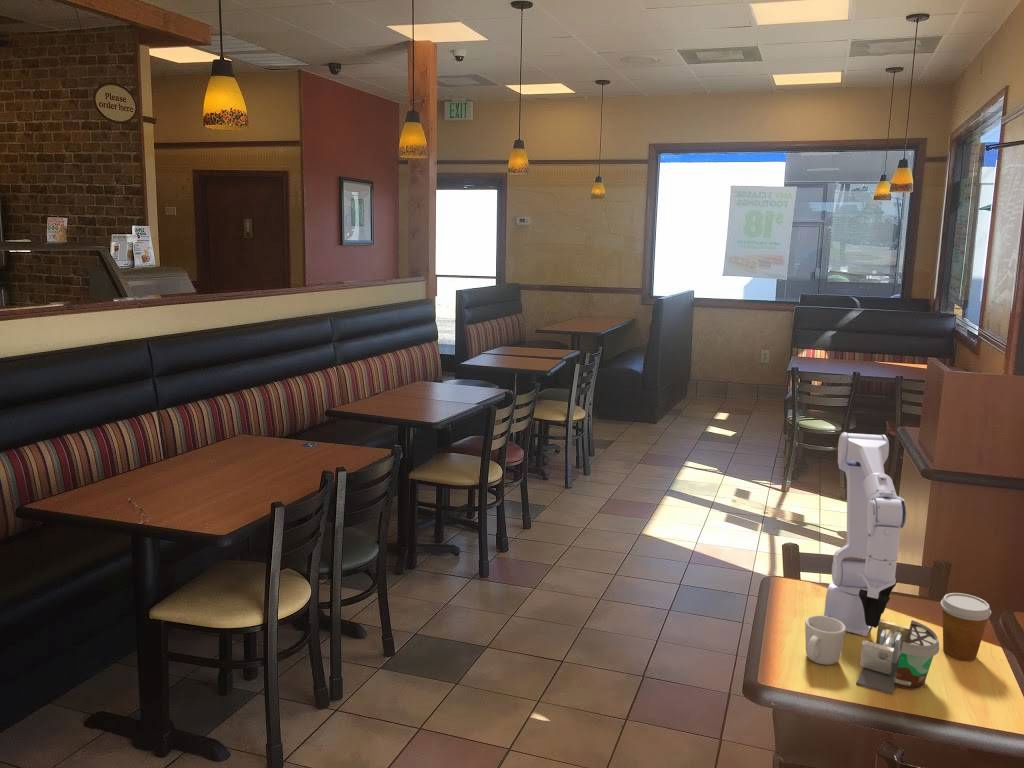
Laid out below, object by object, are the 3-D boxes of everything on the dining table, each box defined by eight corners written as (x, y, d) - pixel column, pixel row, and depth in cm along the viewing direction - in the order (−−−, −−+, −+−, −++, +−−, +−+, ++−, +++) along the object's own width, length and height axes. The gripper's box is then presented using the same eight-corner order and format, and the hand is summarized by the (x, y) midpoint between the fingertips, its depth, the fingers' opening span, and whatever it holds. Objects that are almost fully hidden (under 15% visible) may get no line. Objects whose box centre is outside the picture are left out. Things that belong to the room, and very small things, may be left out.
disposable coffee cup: (991, 667, 177) (998, 614, 175) (941, 662, 179) (948, 608, 176) (976, 645, 186) (983, 594, 184) (929, 640, 188) (935, 589, 186)
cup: (827, 678, 171) (831, 641, 170) (789, 664, 177) (793, 628, 175) (848, 659, 179) (852, 623, 178) (811, 645, 184) (815, 611, 183)
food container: (926, 700, 164) (937, 654, 162) (892, 688, 167) (902, 643, 165) (934, 673, 174) (944, 629, 172) (902, 662, 177) (911, 618, 175)
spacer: (875, 644, 183) (878, 621, 182) (877, 642, 184) (879, 619, 183) (906, 652, 179) (909, 629, 178) (907, 650, 180) (910, 626, 179)
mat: (856, 684, 169) (856, 682, 169) (876, 642, 187) (876, 640, 187) (891, 694, 166) (892, 692, 166) (909, 650, 183) (909, 649, 183)
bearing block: (877, 660, 179) (880, 635, 178) (880, 653, 182) (883, 628, 181) (895, 665, 177) (898, 640, 176) (898, 658, 180) (901, 633, 179)
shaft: (859, 666, 174) (862, 643, 173) (872, 640, 185) (874, 619, 184) (890, 674, 171) (892, 651, 170) (901, 648, 182) (903, 626, 181)
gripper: (866, 541, 180) (860, 601, 183) (853, 562, 168) (847, 627, 170) (903, 548, 177) (896, 609, 179) (892, 570, 164) (885, 636, 167)
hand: (874, 618), depth 174 cm, fingers open, 7 cm apart
